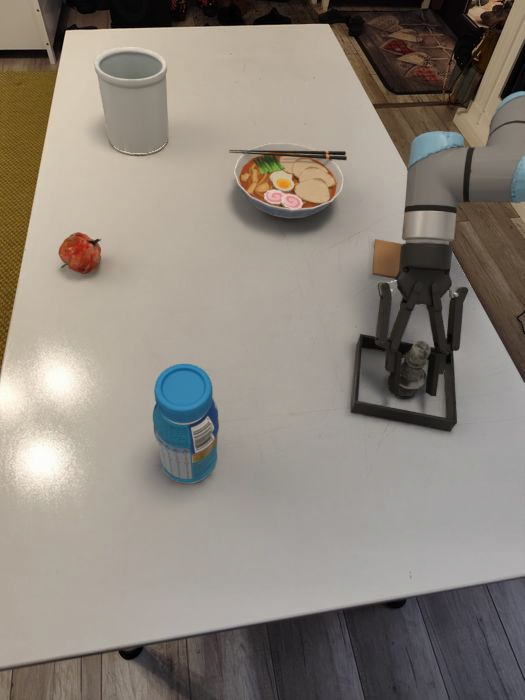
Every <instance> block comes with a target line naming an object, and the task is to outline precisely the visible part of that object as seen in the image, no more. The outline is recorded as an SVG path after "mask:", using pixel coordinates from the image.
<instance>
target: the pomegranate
mask: <svg viewBox="0 0 525 700" xmlns="http://www.w3.org/2000/svg"><path fill="white" fill-rule="evenodd" d="M101 241H102V238H96V239H93V238H91V237H90V236H89V235H88V234H86V233H82V232H80V231H77V232H73V233H72V234H70V235H69V236H68V237H66V238H64V240H63V242H61V244H60V245H59V248H58V257H59V258H60V260H61V261H62V262H63V263H64V264H63V265H62V266H60V268H61V269H63V268H65V267H66V266H67V268H68V269H69V270H71V271H72V272H77V273H79V274H81V275H86V274H89V273H91V272H93V271H95V270H96V269H97V268H98V266H99V265H100V264H101V260H102V254H101V253H102V247H101V245H100V244H99V242H101Z"/></svg>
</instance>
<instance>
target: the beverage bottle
mask: <svg viewBox="0 0 525 700" xmlns="http://www.w3.org/2000/svg"><path fill="white" fill-rule="evenodd" d="M154 384H155V385H154V389H153V392H154V401H155V404H154V407H153V410H152V423H153V434H154V437H155V439H156V441H157V444H158V449H159V454H160V455H159V456H160V463H161V464H160V465H161V468H162V469H163V472H164V473H165V474H166V475H167V476H168V477H169V478H170V479H171V480H173V481H175V482H177V483H181V484H195V483H198V482H200V481H203V480H204V479H206V478H207V477H208V476H209V475H211V473H212V472H213V471H214V469H215V467H216V464H217V461H218V436H219V435H218V434H219V430H220V421H219V409H218V406H217V403H216V400H215V399H214V397H213V383H212V380H211V378H210V376H209V375H208V373H207V372H206V371H205V370H204V369H203V368H202V367H199V366H198V365H195V364H191V363H178V364H177V363H176V364H174V365H171V366H169V367H167V368H165V369H164V370H162V372H161V373H160V374H159V375H158V376H157V379H156V380H155V383H154Z"/></svg>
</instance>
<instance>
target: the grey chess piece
mask: <svg viewBox="0 0 525 700" xmlns="http://www.w3.org/2000/svg"><path fill="white" fill-rule="evenodd" d="M412 344H413V346H412V348H411V350H410V351H408V352H407V353H406V354H405V355H403V356H404V357H403V358H402V363H401V373H400V384H399V394H398V395H393V397H396V398H398V399H403V400H408V399H411V398H413V397H415V396H416V395H417V393H418V390H419V389H420V388H422V387H423V386H424V385H425V384H426V380H427V372H426V371H425V368H426V366H428V360H427V358H428V356H429V355H430V352H431V349H430V347H431V346H430V345H429V344H428V343H427V342H426V341H423V340H418V341H415V342H414V343H412ZM389 380H390V374H389V375H388V376H387V378H386V381H385V385H386V388H387V391H389Z"/></svg>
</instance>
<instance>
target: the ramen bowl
mask: <svg viewBox="0 0 525 700" xmlns="http://www.w3.org/2000/svg"><path fill="white" fill-rule="evenodd" d="M228 153H232V154H242V155H240V156H239V157H238V158H237V161H236V163H235V166H234V168H233V173H234V176H235V179H236V183H237V185H238V187H239V189H240V191H241V192H242V194H243V195H244V196H245V198H247V200H248V201H250V202H251V203H252V205H253V206H254V207H256V209H258V210H260V211H261V212H264V213H266V214H268V215H270V216H273V217H278V218H283V219H289V220H290V219H301V218H307V217H308V216H311V215H314V214H316V213H318V212H321V211H322V210H324V209H325V208H327V207H329V205H330V204H331V203H332V202H333V201H334V199H336V197H337V196H338V195H339V194H340V193H341V192H342V191H343V187H344V186H343V185H344V180H345V176H344V175H343V173H342V170H341V168H340V167H339V165H338V163H337V162H336V161H347V159H348V158H347V152H346V151H345V150H344V151H343V150H334V151H333V150H328V151H327V150H318V149H315V148H313V147H310V146H308V145H304V144H299V143H292V142H289V141H288V142H269V143H264V144H261V145H258V146H254V147H251V148H249V149H229V152H228ZM334 160H335V161H334Z"/></svg>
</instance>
